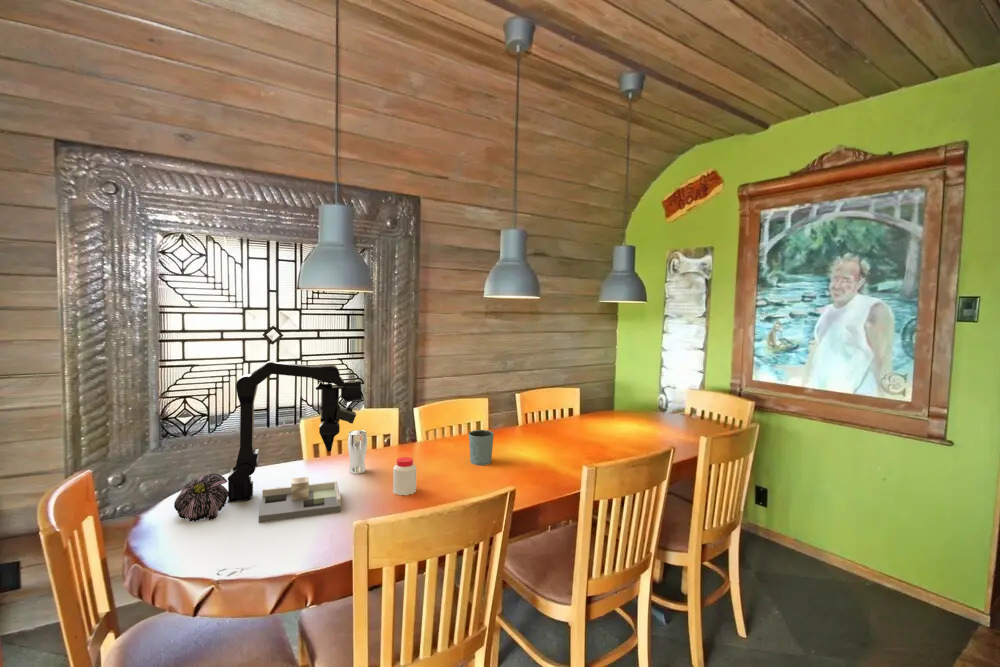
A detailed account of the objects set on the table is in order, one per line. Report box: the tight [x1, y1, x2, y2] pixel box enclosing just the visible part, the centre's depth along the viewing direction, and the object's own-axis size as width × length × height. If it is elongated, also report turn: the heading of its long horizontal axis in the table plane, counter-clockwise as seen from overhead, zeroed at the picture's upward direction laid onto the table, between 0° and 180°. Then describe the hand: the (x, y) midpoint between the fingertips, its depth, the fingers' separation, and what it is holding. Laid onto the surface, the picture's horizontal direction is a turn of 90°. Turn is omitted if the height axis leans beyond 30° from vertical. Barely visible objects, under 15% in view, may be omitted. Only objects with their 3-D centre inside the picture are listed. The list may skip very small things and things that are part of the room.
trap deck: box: [258, 480, 342, 524], centre depth 153 cm, size 22×16×4 cm
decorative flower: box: [173, 473, 229, 523], centre depth 147 cm, size 15×12×15 cm
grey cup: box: [468, 429, 495, 466], centre depth 200 cm, size 10×10×12 cm
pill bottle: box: [392, 456, 417, 496], centre depth 168 cm, size 8×8×11 cm
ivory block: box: [290, 476, 310, 500], centre depth 157 cm, size 5×5×5 cm
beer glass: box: [347, 429, 368, 475], centre depth 186 cm, size 7×7×15 cm
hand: (329, 447), depth 168 cm, fingers open, 9 cm apart
